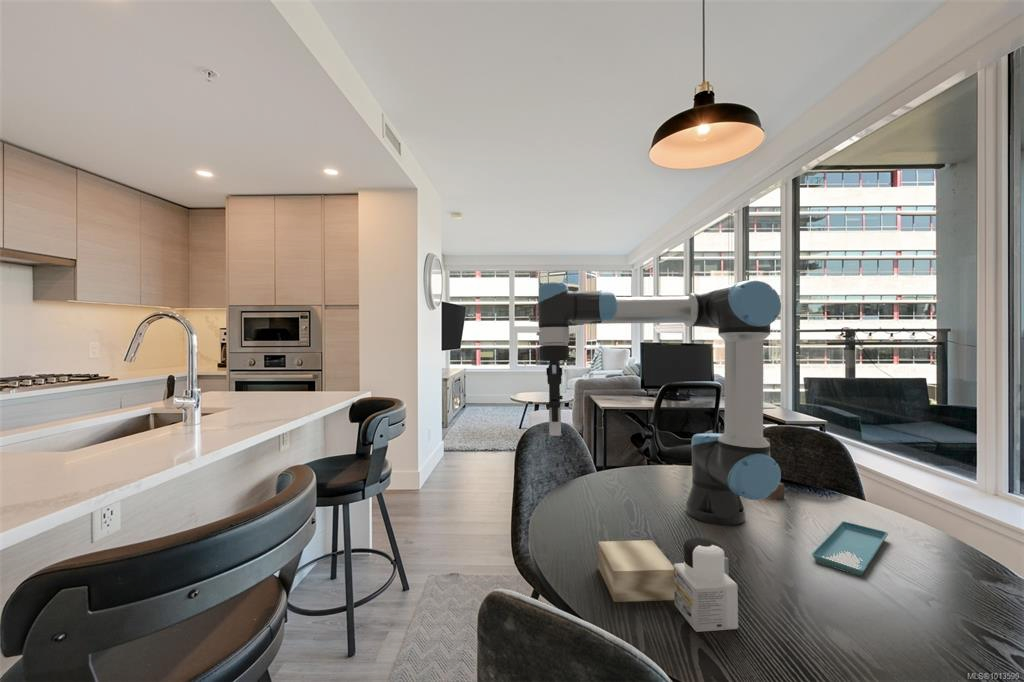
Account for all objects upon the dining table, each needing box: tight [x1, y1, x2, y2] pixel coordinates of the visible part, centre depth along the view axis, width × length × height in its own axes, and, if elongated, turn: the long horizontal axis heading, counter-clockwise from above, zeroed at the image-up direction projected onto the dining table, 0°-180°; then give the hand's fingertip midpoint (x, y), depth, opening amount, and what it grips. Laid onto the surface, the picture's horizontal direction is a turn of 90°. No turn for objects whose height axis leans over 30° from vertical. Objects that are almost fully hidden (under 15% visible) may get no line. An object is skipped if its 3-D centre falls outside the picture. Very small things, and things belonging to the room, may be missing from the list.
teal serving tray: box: [811, 520, 889, 576], centre depth 96 cm, size 26×9×2 cm, turn 129°
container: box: [673, 537, 739, 633], centre depth 73 cm, size 8×8×13 cm
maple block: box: [597, 539, 674, 603], centre depth 84 cm, size 12×12×6 cm
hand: (555, 429), depth 102 cm, fingers open, 13 cm apart
